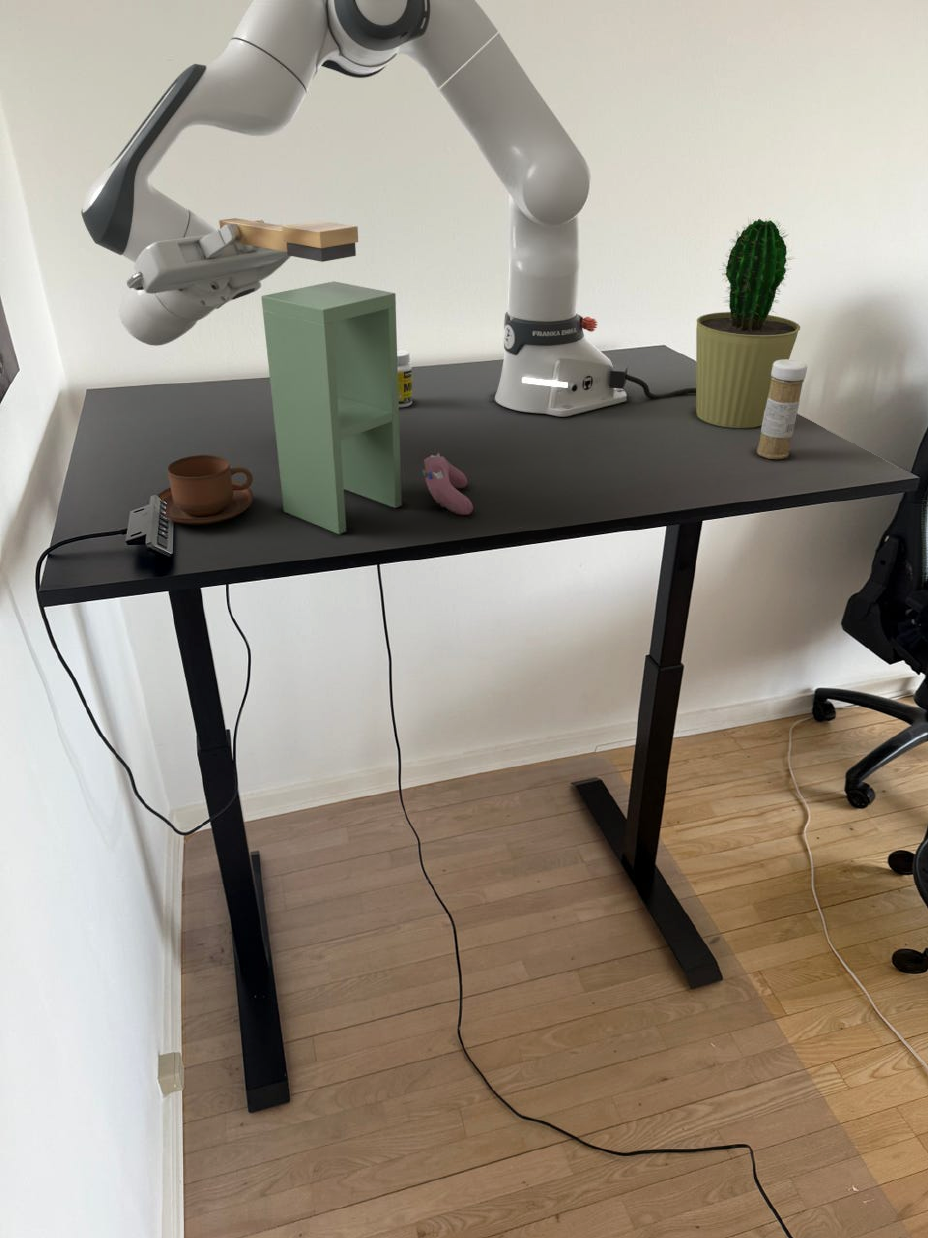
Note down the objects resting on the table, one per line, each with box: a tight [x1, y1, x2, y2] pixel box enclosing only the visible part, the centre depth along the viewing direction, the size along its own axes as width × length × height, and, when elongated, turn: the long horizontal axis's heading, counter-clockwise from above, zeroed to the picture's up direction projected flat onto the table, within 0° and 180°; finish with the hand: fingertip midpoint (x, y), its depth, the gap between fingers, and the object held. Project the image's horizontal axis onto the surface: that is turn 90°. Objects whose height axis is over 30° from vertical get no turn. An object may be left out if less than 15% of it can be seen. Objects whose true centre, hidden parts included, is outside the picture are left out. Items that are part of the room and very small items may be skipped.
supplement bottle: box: [397, 349, 413, 408], centre depth 146 cm, size 5×5×8 cm
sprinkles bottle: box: [756, 359, 808, 461], centre depth 126 cm, size 5×5×13 cm
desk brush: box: [218, 217, 359, 263], centre depth 100 cm, size 19×6×3 cm, turn 51°
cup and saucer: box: [156, 454, 254, 526], centre depth 110 cm, size 12×12×6 cm
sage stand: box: [261, 281, 403, 535], centre depth 106 cm, size 10×11×26 cm
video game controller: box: [422, 452, 474, 516], centre depth 113 cm, size 10×5×7 cm, turn 5°
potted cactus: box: [695, 218, 801, 429], centre depth 136 cm, size 15×15×30 cm
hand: (248, 228), depth 103 cm, fingers closed on desk brush, 2 cm apart
